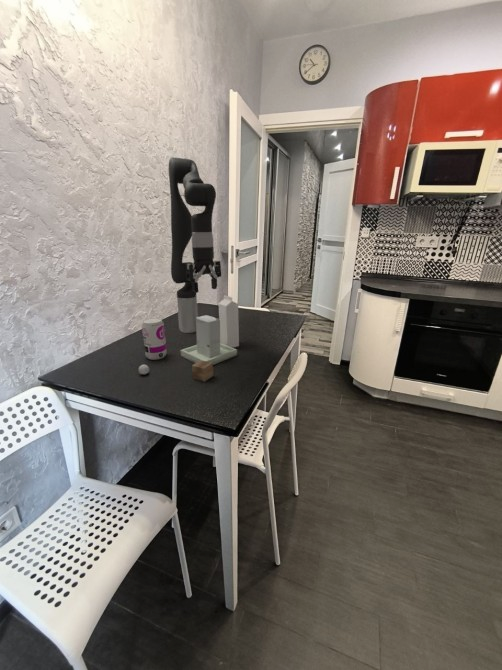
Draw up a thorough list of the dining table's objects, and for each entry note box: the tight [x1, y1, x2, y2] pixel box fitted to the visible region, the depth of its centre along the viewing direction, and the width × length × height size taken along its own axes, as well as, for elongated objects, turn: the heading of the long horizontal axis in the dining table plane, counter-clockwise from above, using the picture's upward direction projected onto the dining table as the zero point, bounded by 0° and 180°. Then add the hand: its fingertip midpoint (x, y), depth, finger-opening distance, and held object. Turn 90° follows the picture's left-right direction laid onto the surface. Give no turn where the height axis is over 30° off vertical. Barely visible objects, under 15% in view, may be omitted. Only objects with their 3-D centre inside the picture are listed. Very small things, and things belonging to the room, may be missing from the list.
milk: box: [218, 294, 240, 348], centre depth 129 cm, size 6×6×22 cm
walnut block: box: [191, 360, 214, 383], centre depth 105 cm, size 5×5×5 cm
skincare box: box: [195, 314, 220, 357], centre depth 120 cm, size 8×6×15 cm
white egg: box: [138, 364, 150, 376], centre depth 108 cm, size 4×4×4 cm
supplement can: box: [141, 317, 168, 361], centre depth 120 cm, size 8×8×15 cm
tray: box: [180, 343, 238, 366], centre depth 123 cm, size 16×16×2 cm
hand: (205, 290), depth 114 cm, fingers open, 8 cm apart
